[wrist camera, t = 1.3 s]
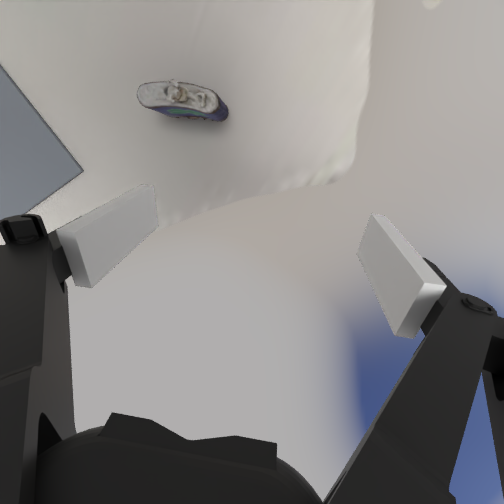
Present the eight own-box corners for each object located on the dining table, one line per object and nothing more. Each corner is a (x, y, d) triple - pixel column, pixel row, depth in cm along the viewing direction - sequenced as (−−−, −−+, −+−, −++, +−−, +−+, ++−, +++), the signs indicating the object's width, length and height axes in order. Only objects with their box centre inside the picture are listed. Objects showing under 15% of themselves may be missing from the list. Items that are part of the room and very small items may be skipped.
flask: (164, 117, 36) (128, 103, 26) (163, 93, 35) (125, 69, 25) (228, 123, 36) (218, 112, 26) (229, 100, 35) (219, 78, 25)
